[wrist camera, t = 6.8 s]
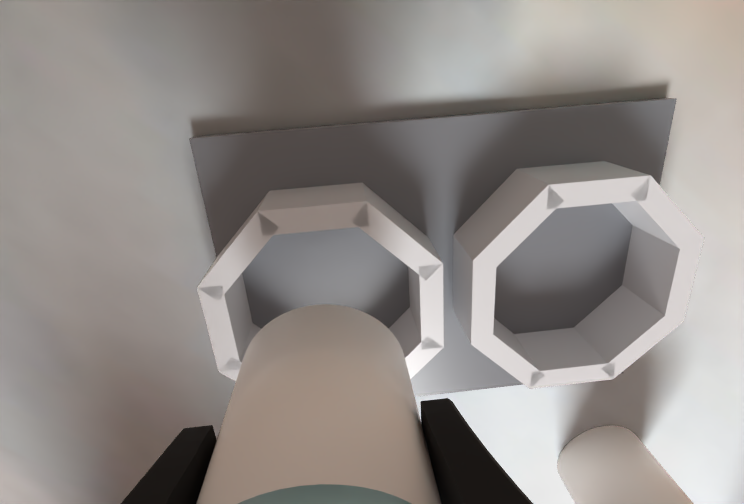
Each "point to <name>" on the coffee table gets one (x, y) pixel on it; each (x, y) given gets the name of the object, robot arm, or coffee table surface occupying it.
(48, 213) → the coffee table surface
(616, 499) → the rounded-end tube
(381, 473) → the teal-capped white cylinder
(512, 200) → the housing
